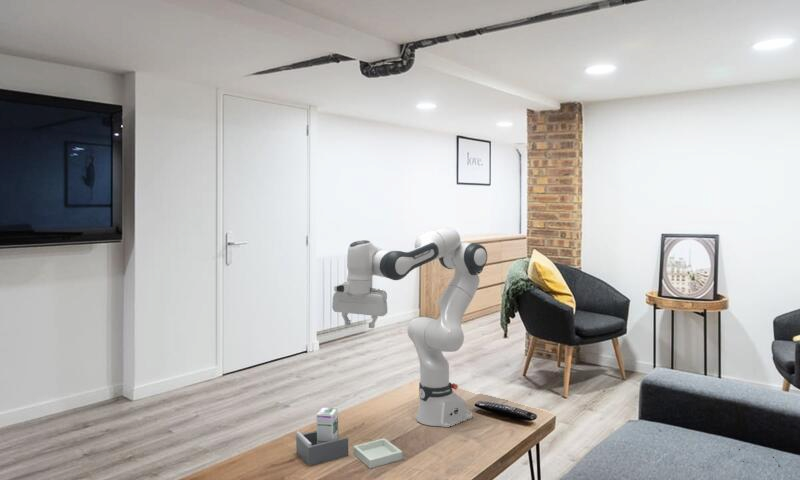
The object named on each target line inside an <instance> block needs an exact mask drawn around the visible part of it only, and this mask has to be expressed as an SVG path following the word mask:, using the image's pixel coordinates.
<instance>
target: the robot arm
mask: <svg viewBox="0 0 800 480" xmlns="http://www.w3.org/2000/svg"><path fill="white" fill-rule="evenodd" d="M346 255H347V257H346V260H347V261H346V262H347V263H346V268H347V272H348V273H347V277H346V282H343V283H340V284H337V285H334V286H333V289H334V294H333V296H332V304H331V306H332V307H331V308H332V310H333V312H334V313H341V317H342V318H343V320H344V325H345V326H351V325H352V323H351V322H352V320H351V319H350V318H349V317H348V315H349V314H353V315H355V314H356V315H363V316H371V322H368V328H369V329H374V328H375V326H376V325H375V324H376V321H377V320H378V319H379V317H384V316H386V315H387V314H388V302H387V299H388V294H387V292H386V290H384V289H382V288H373V276H377V277H381V278H386V279H389V280H392V281H399V280H402V279H404V278H405V277H406V276H407V275H408V274H409V273H410V272H411V271H413V270H414V269H417V268H419V267H422V266H423V265H425V264H427V263H430V262H432V261H435V260H438V261H439V263H440V264H441V266H442V267H443V268H445V269H448V270H454V275H453V278H452V279H451V280H450V281H449V283H448V285H447V286H446V288H445V289H444V291H443V292H442V294H441V296H440V298H439V300H438V301H437V305H438V309H439V310H440V313H439V315H438V318H432V317H428V316H422V317H421V316H418V317H417V316H416V317H414V318H413V319H411V321H410V322H409V323H408V325H407V336H408V338H409V340H411V342H412V343H413V345H414V347H415V350H416V353H417V357H418V359H419V360H418V361H419V369H420V370H419V372H420V373H419V374H420V375H419V378H420V379H419V383H418V384H419V388H418V392H419V402H418V403H419V404H418V409H417V413H416V416H415V419H416V421H417V422H419V423H420V424H422V425H426V426H431V427H442V428H450V426H451V427H452V426H455V424H456V425H459V424H460V422H461V423H463V422H465V421H468V420H470V419H473V418H472V417H474V416H473V412H472V411H470V410H469V409H468V406H467V404H466V401H465V400H464V398H463V397H462V396H460V395H458V394H457V393H456V392H454V391H453V390H455V391H456V390H458V388H459V385H458V384H456V383H451V382H450V364H449V361H448V360H447V358H446V357H445V356H444V354H443V352H447V353H452V352H453V353H455V352H458V351H459V350H460V349H461V348H462V346H463V344H464V340H465V335H464V332H463V329H462V321H463V317H464V315H465V313H466V311H467V309H468V308H469V306H470V304H471V302H472V301H473V300H474V297H475V294H476V292H477V290H478V288H479V285H480V281H481V279H480V276H479V275H480V274H481V273H482V271H483V270H484V268H485V267H486V264H487V262H488V251H487V249H486V248H485V246H483V245H481V244H479V243H476V242H472V243H471V242H461V236H460V234H459V232H458V231H457V230H456V229H454V228H452V227H442V228H441V227H440V228H436V229H432V230H429V231H426V232H424V233H421V234H420V235H418V236H417V237H416V240H415V242H414V248H413V249H411V250H408V251H401V250H391V249H389V250H388V249H383V248H380V247H378V246H376V245H374V244H373V243H372V242H371V241H370V240H367V239H366V240H357V241H353V242H351V243H350V245H349V246H348V249H347V254H346ZM467 419H468V420H467ZM462 421H463V422H462Z"/></svg>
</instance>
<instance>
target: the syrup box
mask: <svg viewBox="0 0 800 480" xmlns="http://www.w3.org/2000/svg"><path fill="white" fill-rule="evenodd" d="M338 411H339V410H338V408H335V407H321V409H320V410H319V411H318V412H317V413H316V414H315V417H316V419H315V420H316V431H317V444H320V443H324V442H329V441H333V440H337V439H339V414H338Z"/></svg>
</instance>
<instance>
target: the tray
mask: <svg viewBox="0 0 800 480" xmlns="http://www.w3.org/2000/svg"><path fill="white" fill-rule="evenodd" d="M352 447H353V448H352V454H353V455H354V456H356V457H357V459H358V460H360V461H361V462H362V463H364V464H365V465H366V466H367V467H368V468H369V469H373V468H377V467H380V466H384V465H387V464H391V463H395V462H398V461H402V460H403V451H402V450H401V449H400V448H398V447H397V446H396V445H394V444H393V443H391V442H390V441H389V440H388V439H386V438H380V439H376V440H372V441H368V442H364V443H360V444H356V445H353V446H352Z"/></svg>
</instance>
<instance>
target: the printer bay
mask: <svg viewBox="0 0 800 480" xmlns="http://www.w3.org/2000/svg"><path fill="white" fill-rule="evenodd" d="M295 435H296V436H295V437H296V438H295V439H296V441H295V442H296V445H295V446H296V450H295V451H296V454H297V455H298V456H299V457H300V458H301V460H303V462H304V463H305V464H306V465H307V466H308V467H310V466H314V465H319V464H323V463H326V462H330V461H332V460H337V459H340V458H344V457H348V456H349V437H348V436H345V437H341V438H338V439H337V440H333V441H329V442H324V443H320V444H317V430H313V431H309V432H305V433H301V432H300V431H299V430H298V431H296V433H295Z"/></svg>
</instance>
